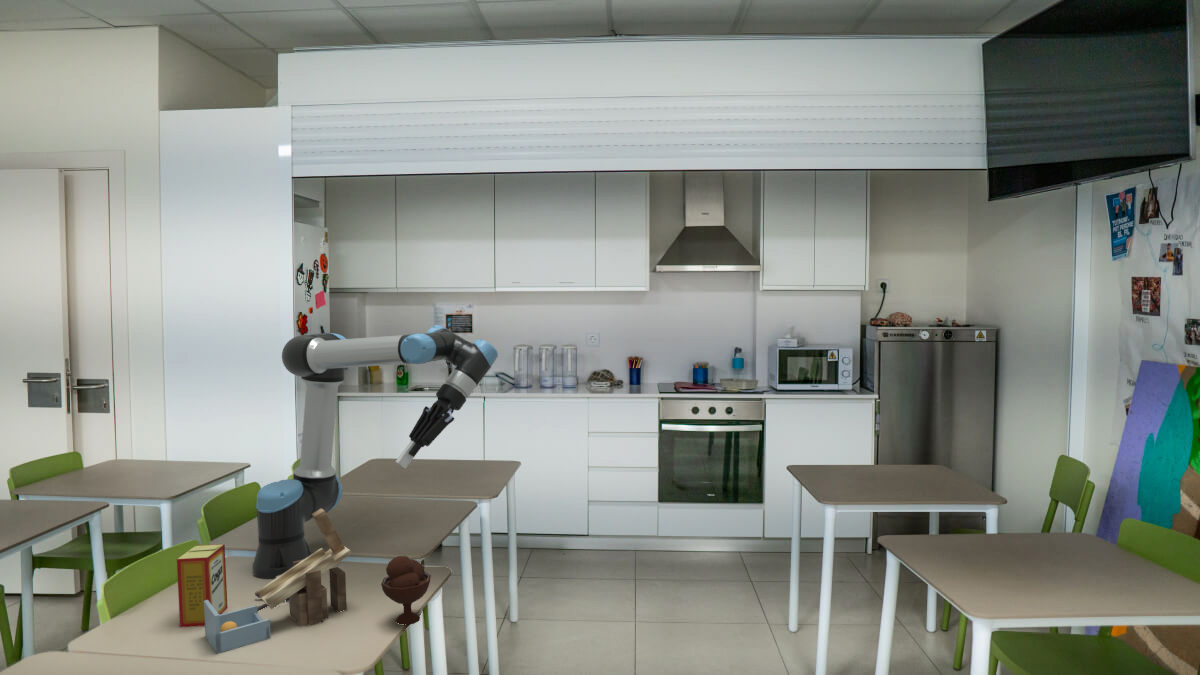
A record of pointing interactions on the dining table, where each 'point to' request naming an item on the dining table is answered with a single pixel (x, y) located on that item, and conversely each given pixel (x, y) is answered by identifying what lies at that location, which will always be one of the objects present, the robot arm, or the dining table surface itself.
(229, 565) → the dining table surface
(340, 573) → the stand
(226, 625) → the ball
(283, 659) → the dining table surface
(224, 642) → the bin
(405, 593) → the ice cream bowl
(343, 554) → the lever
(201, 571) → the baking soda box
